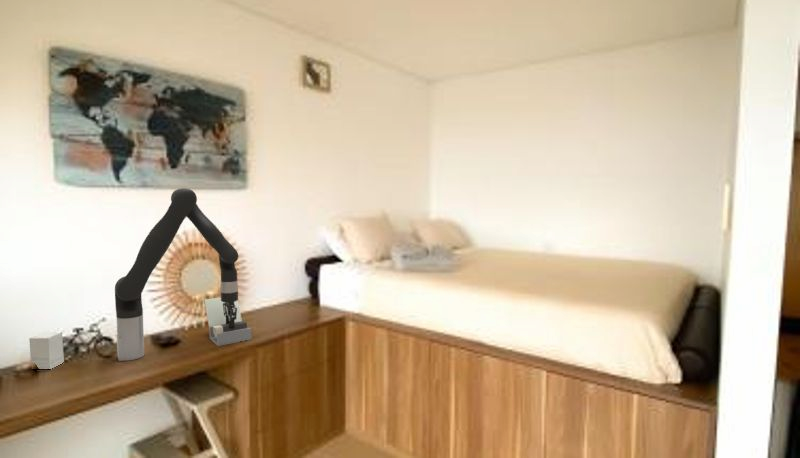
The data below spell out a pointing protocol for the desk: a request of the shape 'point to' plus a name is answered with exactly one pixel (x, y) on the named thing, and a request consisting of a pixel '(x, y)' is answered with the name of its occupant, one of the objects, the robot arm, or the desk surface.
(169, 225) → the robot arm
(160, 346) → the desk surface
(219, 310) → the panel
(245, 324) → the gray white block
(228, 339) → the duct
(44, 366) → the supplement box
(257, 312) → the desk surface
